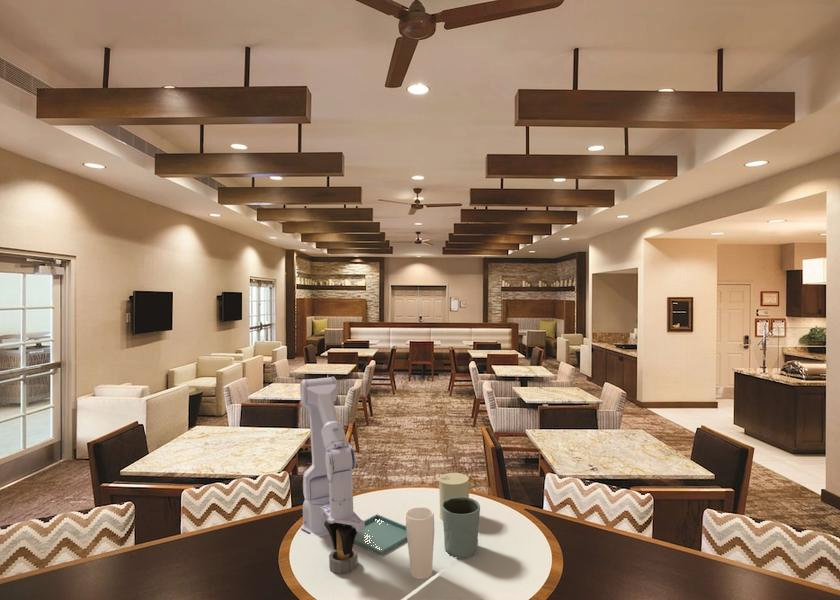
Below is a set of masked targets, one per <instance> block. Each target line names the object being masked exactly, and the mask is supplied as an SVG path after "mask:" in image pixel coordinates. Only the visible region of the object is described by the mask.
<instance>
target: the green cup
mask: <svg viewBox="0 0 840 600" xmlns="http://www.w3.org/2000/svg"><path fill="white" fill-rule="evenodd" d="M480 515H481V505H480V503H479V502H478V501H477V500H476V499H473V498H471V497H469V498H467V497H453V498H449V499H447V500H445V501H444V502H443V503H442V516H443V520H442V525H443V526H442V527H443V535H444V536H443V537H444V538H443V539H444V541H443V542H444V551H445V553H446V552H447V553H448V554H449V555H448V554H447V553H446V554H447V555H448V556H449V557H451V556H453V557H452V558H454V557H457V558H456V559H468V557H469V558H472V557H474V556H475V555H476V554H477V553H478V548H479V547H478V546H479V545H478V544H479V538H478V537H479V526H480V518H481V517H480Z"/></svg>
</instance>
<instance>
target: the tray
mask: <svg viewBox="0 0 840 600" xmlns="http://www.w3.org/2000/svg"><path fill="white" fill-rule="evenodd" d="M375 519H377V520H379V519H380V521H379V522H378V523H377V520H376V521H375ZM381 520H382V521H384V522H382V523H381ZM363 521H365V529H364V530H362V531H360V532H357V534H356V537H355V540H354V543H353V544H356V545H358V546H360V547H362V548H364V549H366V548H367V549H366V550H368V549H369V550H368V551H370V550H371V551H370V552H372V551H373V552H372V553H374V552H375V553H374V554H376V553H377V554H376V555H378V554H379V555H378V556H380V555H381V556H383V555H385V554H386V553H388V552H390V551H391V550H393V549H395V548H396V547H398V546H399V545H401V544H403V543H404V542H408V541H407V532H406V524H405V525H404V524H402V523H399V522H398V521H394V520H393V519H390V518H388V517H386V516H384V515H383V516H382V515H380V514H378V513H377V514H375V515H372V516H370V517H369V518H366V519H365V520H363ZM379 523H381V524H380V525H379ZM387 524H388V525H387ZM368 530H369V531H368ZM365 533H366V534H365ZM367 534H368V536H369V535H370V538H371V539H370V538H369V537H368V539H367V540H369V539H370V542H371V543H369V541H368V542H366V543H365V541H367V540H365V539H366V538H367V537H366V538H364V537H365V536H366V535H367ZM364 535H365V536H364ZM372 536H373V537H372ZM364 540H365V541H364ZM371 540H372V541H371ZM373 542H374V543H373ZM367 543H369V544H367ZM375 544H376V545H375ZM371 545H372V546H371ZM373 545H374V546H373ZM376 546H378V547H377V548H379V547H380V550H379V549H377V548H375V547H376ZM381 549H382V550H381Z"/></svg>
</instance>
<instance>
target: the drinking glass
mask: <svg viewBox="0 0 840 600" xmlns="http://www.w3.org/2000/svg"><path fill="white" fill-rule="evenodd" d="M434 514H435V513H434V511H433V510H432V509H430V508H428V507H421V506H420V507H418V506H417V507H413V508H411V509H409V510H407V511H406V514H405V521H406V522H405V526H406V532H407V541H406V542H407V548H408V559H409V567H410V569H409V571H410V575H411V577H413V578H414V579H418V580H425V579H428V578H430V577H431V576H432V575H433V571H434V569H433V568H434V567H433V560H434V543H435V542H434V541H435V517H434V516H435V515H434Z"/></svg>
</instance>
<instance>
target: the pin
mask: <svg viewBox="0 0 840 600" xmlns="http://www.w3.org/2000/svg"><path fill="white" fill-rule="evenodd" d="M336 538H337V560H340V561H343V560H348V559H349V554H347V555H344V553H343V548H342V540H341V536H340V534H339V532H338V529H337V530H336Z"/></svg>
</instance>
